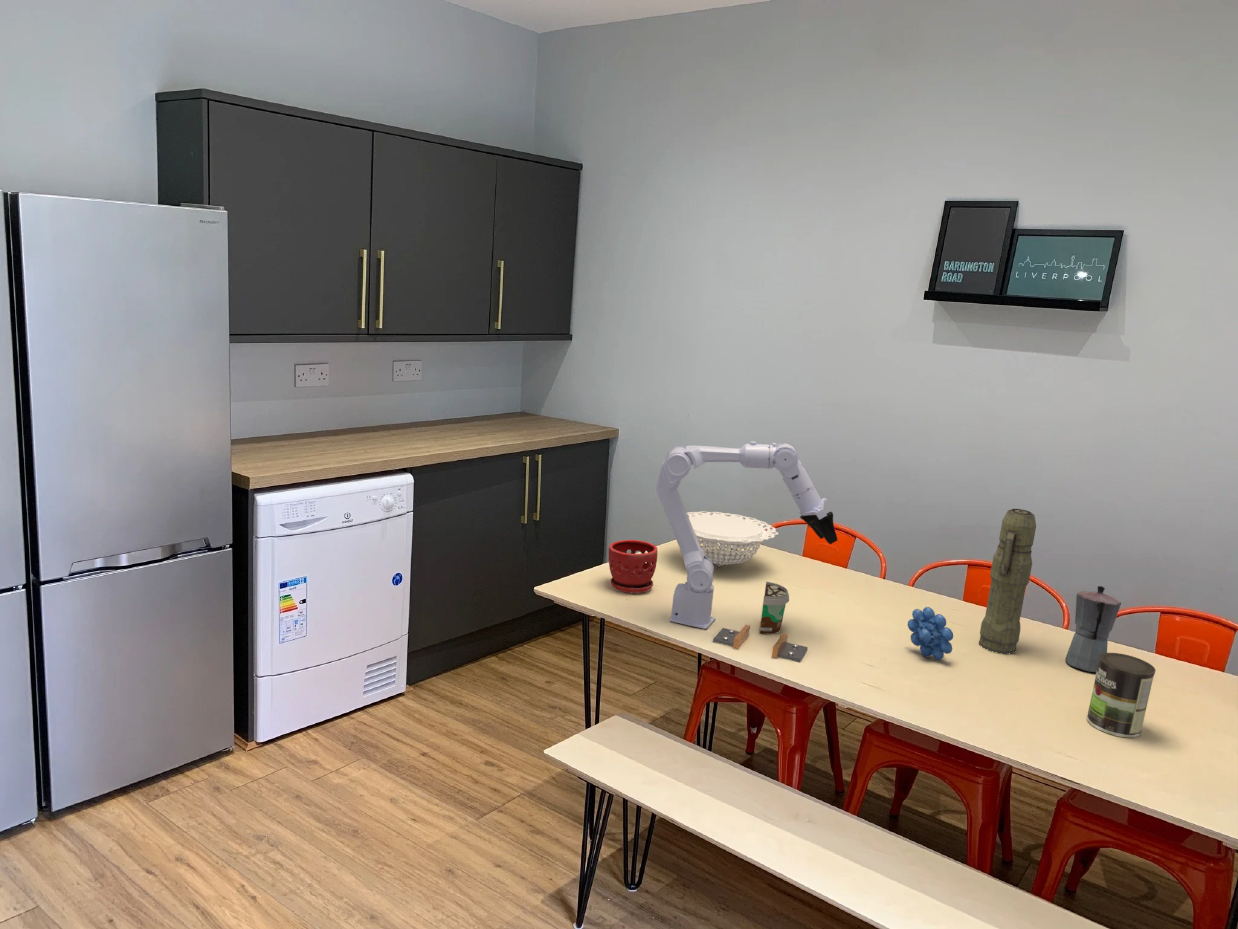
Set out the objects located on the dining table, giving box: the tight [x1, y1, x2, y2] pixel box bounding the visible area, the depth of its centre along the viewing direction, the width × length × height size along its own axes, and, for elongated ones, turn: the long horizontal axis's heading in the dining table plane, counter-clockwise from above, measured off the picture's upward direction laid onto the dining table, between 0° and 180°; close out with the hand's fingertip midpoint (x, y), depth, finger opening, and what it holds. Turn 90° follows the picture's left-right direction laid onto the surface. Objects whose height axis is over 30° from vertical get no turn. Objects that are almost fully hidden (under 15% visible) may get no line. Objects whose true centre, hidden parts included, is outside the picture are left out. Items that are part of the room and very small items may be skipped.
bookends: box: [712, 624, 809, 663], centre depth 217 cm, size 21×10×2 cm, turn 67°
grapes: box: [907, 606, 954, 661], centre depth 217 cm, size 12×7×12 cm, turn 45°
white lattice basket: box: [687, 510, 779, 567], centre depth 273 cm, size 32×32×13 cm
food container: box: [759, 581, 790, 635], centre depth 228 cm, size 12×6×10 cm, turn 168°
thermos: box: [978, 508, 1037, 655], centre depth 225 cm, size 9×12×35 cm
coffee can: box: [1086, 652, 1156, 739], centre depth 189 cm, size 10×10×14 cm
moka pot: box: [1064, 585, 1122, 673], centre depth 219 cm, size 10×15×20 cm, turn 161°
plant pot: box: [608, 539, 659, 595], centre depth 248 cm, size 13×13×12 cm
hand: (828, 539), depth 221 cm, fingers open, 7 cm apart
